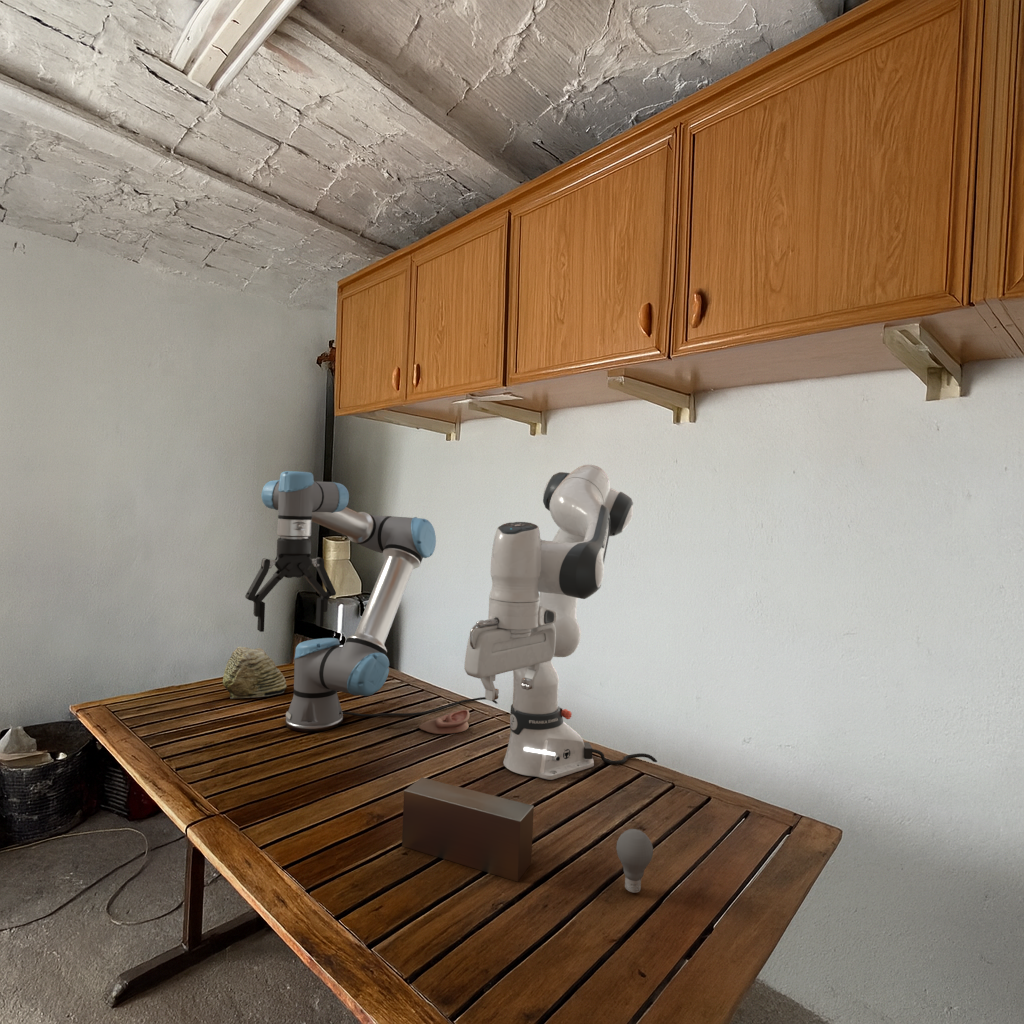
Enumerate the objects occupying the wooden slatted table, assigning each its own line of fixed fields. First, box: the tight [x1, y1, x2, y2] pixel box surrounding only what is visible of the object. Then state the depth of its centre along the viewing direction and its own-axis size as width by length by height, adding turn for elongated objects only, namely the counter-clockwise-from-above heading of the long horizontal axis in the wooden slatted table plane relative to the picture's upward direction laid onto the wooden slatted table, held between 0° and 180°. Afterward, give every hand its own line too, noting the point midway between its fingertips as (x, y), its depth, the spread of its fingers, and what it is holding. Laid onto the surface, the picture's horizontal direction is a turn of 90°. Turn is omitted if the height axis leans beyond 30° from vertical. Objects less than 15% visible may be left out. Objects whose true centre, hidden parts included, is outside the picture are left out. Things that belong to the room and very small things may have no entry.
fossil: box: [222, 646, 288, 699], centre depth 198 cm, size 9×18×15 cm, turn 132°
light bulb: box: [615, 828, 654, 894], centre depth 106 cm, size 6×6×10 cm
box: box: [401, 777, 535, 883], centre depth 114 cm, size 23×6×10 cm, turn 66°
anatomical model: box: [418, 709, 471, 735], centre depth 177 cm, size 13×4×12 cm
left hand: (290, 628), depth 148 cm, fingers open, 13 cm apart
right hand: (510, 693), depth 111 cm, fingers open, 8 cm apart
